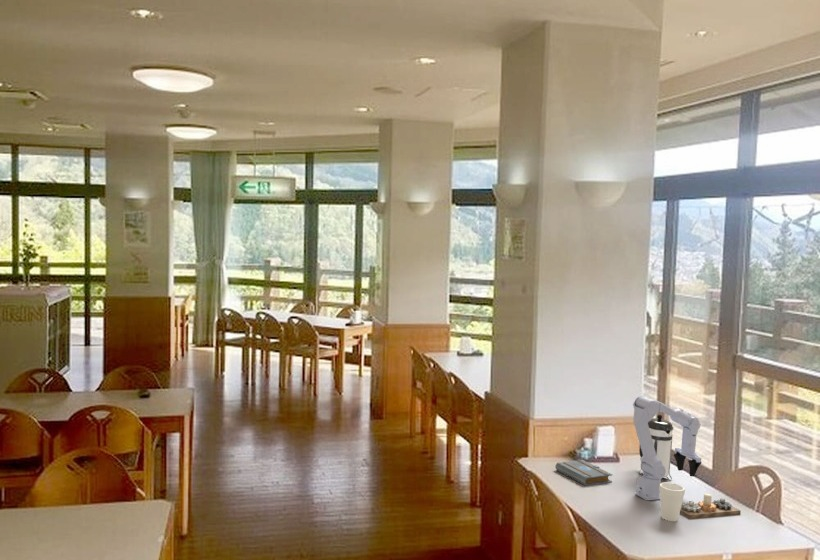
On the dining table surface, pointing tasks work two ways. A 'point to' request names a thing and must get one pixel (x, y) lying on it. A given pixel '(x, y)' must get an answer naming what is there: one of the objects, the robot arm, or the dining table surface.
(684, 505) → the gear
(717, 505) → the gear
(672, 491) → the foam cup
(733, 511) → the gear board
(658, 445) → the coffee press
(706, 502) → the loose gear
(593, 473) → the book
